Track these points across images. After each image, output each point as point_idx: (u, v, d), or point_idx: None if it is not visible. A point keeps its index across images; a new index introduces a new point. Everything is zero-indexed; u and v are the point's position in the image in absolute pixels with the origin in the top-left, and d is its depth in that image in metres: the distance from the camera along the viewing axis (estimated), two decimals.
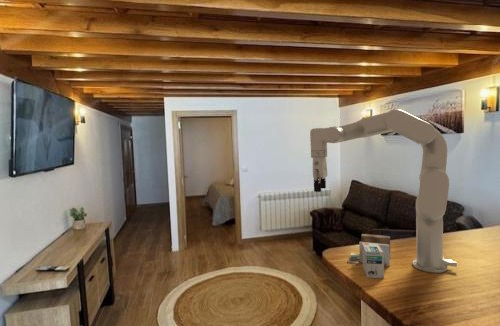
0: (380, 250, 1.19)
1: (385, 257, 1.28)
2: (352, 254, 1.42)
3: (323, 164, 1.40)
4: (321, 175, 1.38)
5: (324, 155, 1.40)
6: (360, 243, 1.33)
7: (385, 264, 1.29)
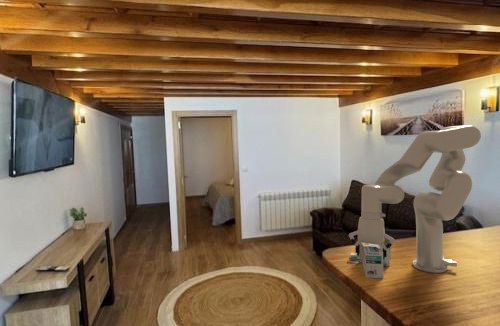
0: (380, 250, 1.19)
1: (385, 257, 1.28)
2: (352, 254, 1.42)
3: None
4: None
5: None
6: (360, 243, 1.33)
7: (385, 264, 1.29)
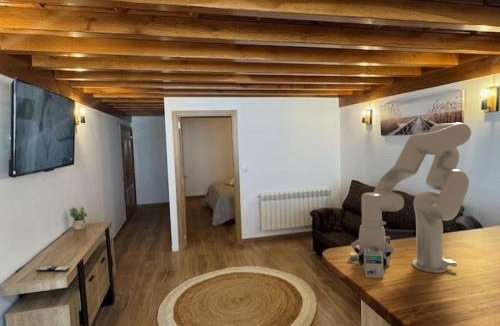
0: (380, 250, 1.19)
1: None
2: (352, 254, 1.42)
3: None
4: None
5: None
6: None
7: None
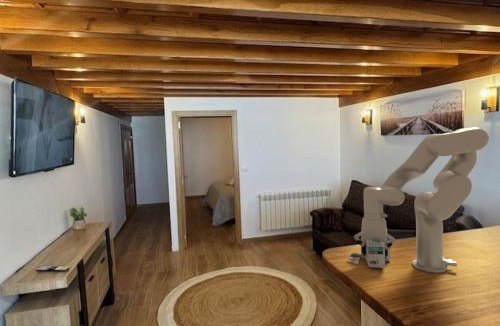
0: (381, 241, 1.25)
1: None
2: None
3: None
4: None
5: None
6: (361, 239, 1.37)
7: (386, 260, 1.33)
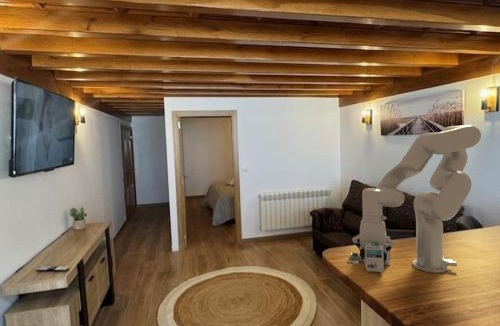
0: (380, 244, 1.22)
1: None
2: None
3: None
4: None
5: None
6: None
7: (385, 263, 1.30)
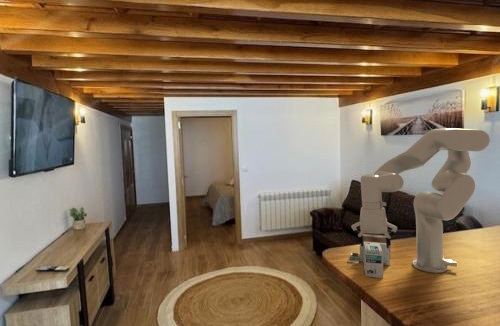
0: (380, 250, 1.19)
1: (385, 256, 1.29)
2: None
3: None
4: None
5: None
6: None
7: (385, 263, 1.30)
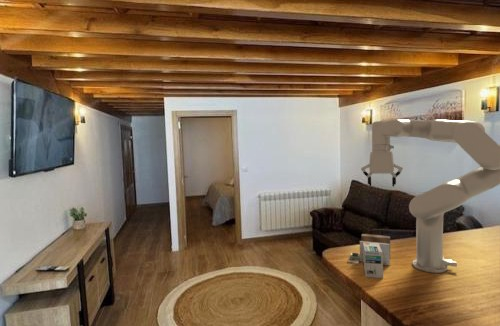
0: (379, 250, 1.19)
1: (385, 256, 1.29)
2: None
3: None
4: None
5: None
6: (360, 242, 1.34)
7: (385, 263, 1.30)
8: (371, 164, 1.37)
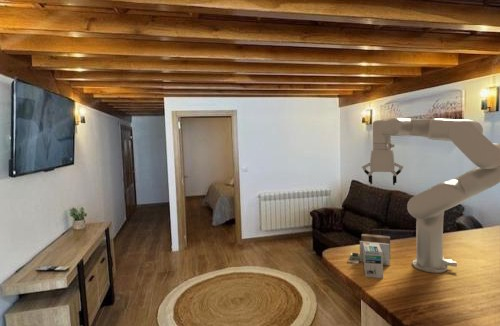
0: (379, 250, 1.19)
1: (385, 256, 1.29)
2: None
3: None
4: None
5: None
6: (360, 242, 1.34)
7: (385, 263, 1.30)
8: (372, 163, 1.38)
